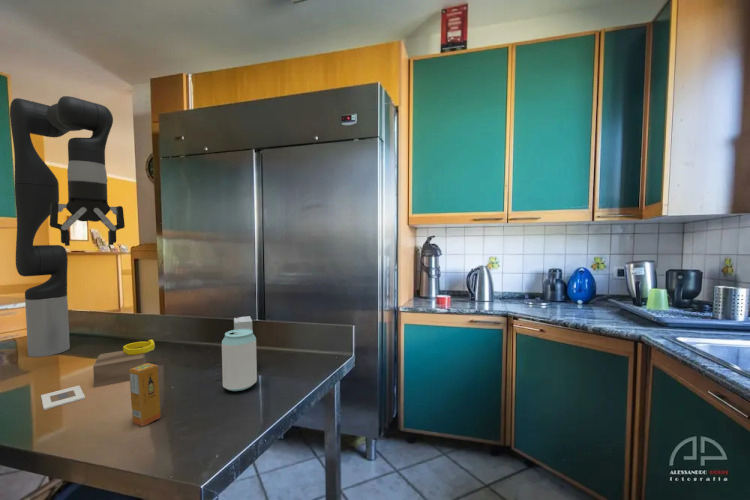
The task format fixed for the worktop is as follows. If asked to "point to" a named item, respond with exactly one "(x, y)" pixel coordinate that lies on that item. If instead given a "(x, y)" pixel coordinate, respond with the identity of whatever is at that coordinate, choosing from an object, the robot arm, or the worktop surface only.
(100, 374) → the walnut block
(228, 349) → the can
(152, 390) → the supplement box
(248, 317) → the skincare box
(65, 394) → the card
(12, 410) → the worktop surface
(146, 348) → the watch
